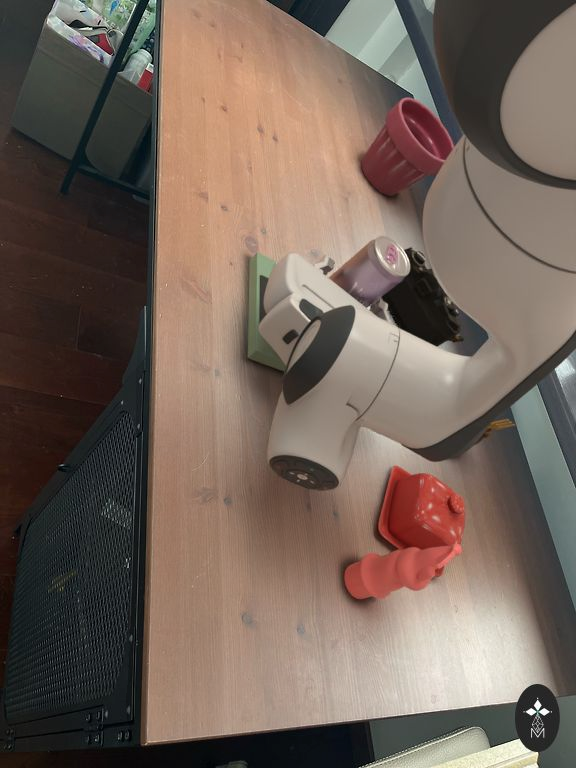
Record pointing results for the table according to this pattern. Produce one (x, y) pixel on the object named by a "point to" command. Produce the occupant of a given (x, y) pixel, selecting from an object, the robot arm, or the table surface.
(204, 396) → the table surface
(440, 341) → the film camera
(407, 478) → the butter dish
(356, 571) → the figurine
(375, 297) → the beverage can
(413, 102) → the flower pot
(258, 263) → the scale
